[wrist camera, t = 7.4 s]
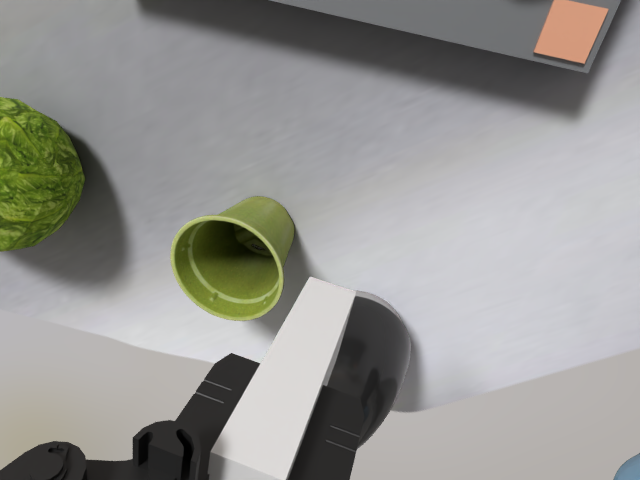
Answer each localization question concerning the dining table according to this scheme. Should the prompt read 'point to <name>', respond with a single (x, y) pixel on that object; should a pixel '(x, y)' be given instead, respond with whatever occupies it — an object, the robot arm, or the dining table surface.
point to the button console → (492, 24)
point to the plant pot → (234, 259)
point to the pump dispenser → (372, 359)
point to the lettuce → (34, 176)
